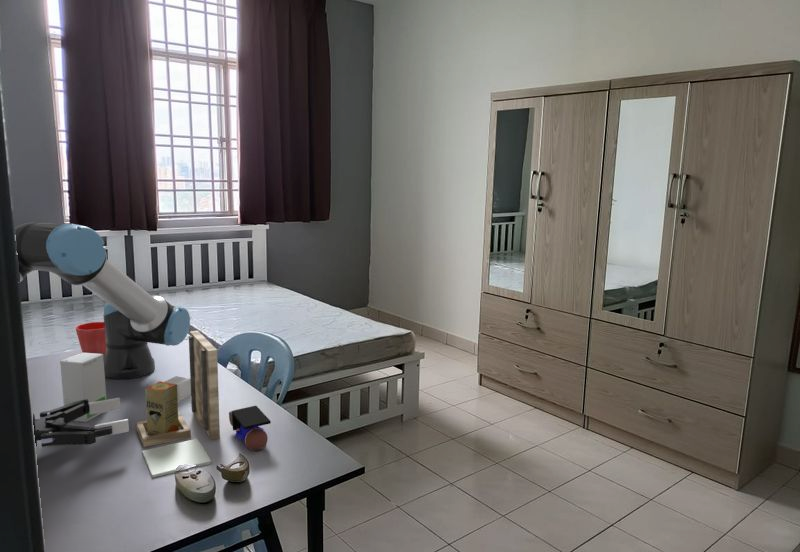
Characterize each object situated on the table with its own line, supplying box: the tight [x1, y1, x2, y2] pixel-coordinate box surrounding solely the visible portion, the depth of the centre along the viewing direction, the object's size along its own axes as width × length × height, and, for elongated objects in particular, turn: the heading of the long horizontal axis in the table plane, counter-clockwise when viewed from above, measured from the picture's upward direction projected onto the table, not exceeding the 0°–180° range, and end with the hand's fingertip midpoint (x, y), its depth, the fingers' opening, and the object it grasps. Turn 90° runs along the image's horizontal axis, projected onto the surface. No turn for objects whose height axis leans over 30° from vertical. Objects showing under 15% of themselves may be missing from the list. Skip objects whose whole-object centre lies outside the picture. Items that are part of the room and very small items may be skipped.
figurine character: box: [228, 405, 272, 451], centre depth 137 cm, size 7×8×15 cm
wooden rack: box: [135, 330, 221, 448], centre depth 139 cm, size 18×16×22 cm
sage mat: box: [142, 438, 212, 479], centre depth 128 cm, size 12×12×1 cm
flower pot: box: [75, 321, 106, 356], centre depth 195 cm, size 11×11×10 cm
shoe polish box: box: [144, 381, 180, 437], centre depth 139 cm, size 5×5×12 cm
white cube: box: [164, 375, 191, 402], centre depth 161 cm, size 5×5×5 cm
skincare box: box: [59, 352, 107, 423], centre depth 147 cm, size 8×7×16 cm
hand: (124, 413), depth 134 cm, fingers open, 13 cm apart
